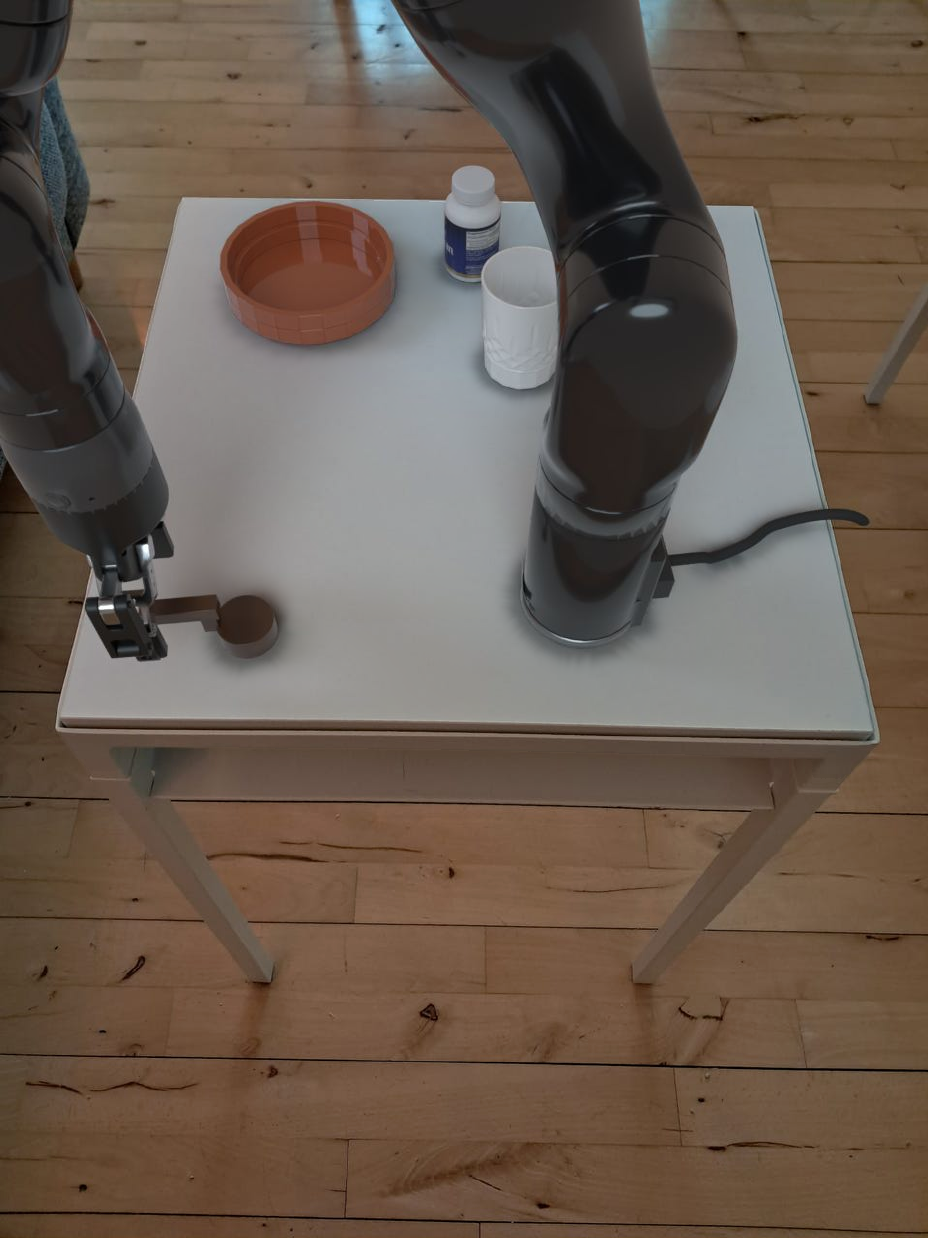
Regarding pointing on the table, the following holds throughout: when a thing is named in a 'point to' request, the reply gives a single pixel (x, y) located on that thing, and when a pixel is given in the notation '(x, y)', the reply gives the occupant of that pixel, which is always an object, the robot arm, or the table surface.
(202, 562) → the table surface
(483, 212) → the pill bottle
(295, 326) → the bowl
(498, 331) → the white cup
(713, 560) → the robot arm
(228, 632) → the brown cylinder with tab
